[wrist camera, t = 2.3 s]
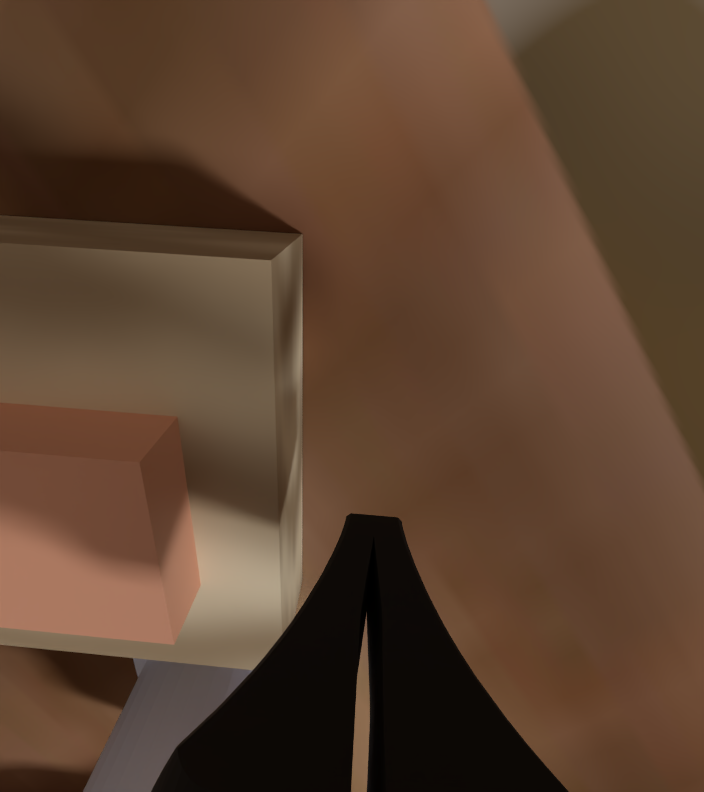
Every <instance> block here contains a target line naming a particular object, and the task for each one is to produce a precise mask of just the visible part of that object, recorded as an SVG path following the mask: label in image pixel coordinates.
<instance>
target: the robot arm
mask: <svg viewBox="0 0 704 792" xmlns="http://www.w3.org/2000/svg"><path fill="white" fill-rule="evenodd" d="M366 612H367V634H368V661H369V687H370V734H369V758H368V781H367V792H568V790H567V789H566V788H565V787H564V786H563V785H562V784H561V783H560V781H559V780H558V779H557V778H556V777H555V776H554V775H553V774H552V772H551V771H550V770H549V769H548V768H547V767H546V766H545V765H544V763H543V762H542V761H541V760H540V759H539V757H538V756H537V755H536V754H535V753H534V752H533V750H532V749H531V748H530V747H529V746H528V745H527V743H526V742H525V741H524V740H523V738H522V737H521V736H520V735H519V733H518V732H517V731H516V730H515V728H514V727H513V726H512V725H511V723H510V722H509V721H508V720H507V718H506V717H505V716H504V714H503V713H502V712H501V710H500V709H499V708H498V706H497V705H496V703H495V702H494V701H493V699H492V698H491V697H490V695H489V694H488V693H487V691H486V690H485V688H484V687H483V686H482V684H481V683H480V682H479V680H478V679H477V677H476V676H475V674H474V673H473V671H472V670H471V668H470V667H469V665H468V664H467V662H466V661H465V659H464V658H463V656H462V655H461V653H460V651H459V650H458V648H457V646H456V645H455V643H454V641H453V640H452V638H451V636H450V635H449V633H448V631H447V629H446V628H445V626H444V624H443V622H442V620H441V619H440V617H439V615H438V613H437V611H436V609H435V607H434V605H433V603H432V601H431V599H430V597H429V595H428V593H427V591H426V589H425V586H424V584H423V582H422V580H421V577H420V575H419V573H418V570H417V568H416V566H415V563H414V561H413V558H412V555H411V553H410V550H409V547H408V544H407V541H406V538H405V535H404V531H403V527H402V522H401V520H400V519H399V518H397V517H386V516H375V515H363V514H352V513H351V514H349V515H348V516H346V521H345V525H344V528H343V531H342V533H341V536H340V538H339V541H338V543H337V545H336V547H335V550H334V552H333V554H332V556H331V558H330V559H329V561H328V563H327V565H326V567H325V569H324V571H323V573H322V575H321V576H320V578H319V580H318V582H317V583H316V585H315V586H314V588H313V590H312V591H311V593H310V595H309V596H308V598H307V600H306V601H305V603H304V604H303V606H302V607H301V609H300V610H299V612H298V613H297V615H296V616H295V617H294V619H293V620H292V622H291V623H290V624H289V626H288V627H287V628H286V630H285V631H284V633H283V634H282V635H281V636H280V638H279V639H278V640H277V642H276V643H275V644H274V645H273V647H272V648H271V649H270V650H269V652H268V653H267V654H266V655H265V657H264V658H263V659H262V660H261V661H260V662H259V664H258V665H257V666H256V667H255V668H254V669H253V670H245V669H236V668H226V667H216V666H206V665H196V664H186V663H177V662H167V661H157V660H147V659H137V658H133V661H134V665H135V669H136V672H137V676H138V679H137V681H136V683H135V685H134V687H133V689H132V692H131V694H130V696H129V698H128V700H127V702H126V704H125V706H124V708H123V710H122V712H121V714H120V716H119V718H118V720H117V722H116V724H115V726H114V729H113V731H112V733H111V735H110V737H109V739H108V741H107V743H106V745H105V747H104V749H103V751H102V753H101V755H100V757H99V759H98V761H97V764H96V766H95V768H94V770H93V772H92V774H91V776H90V778H89V780H88V782H87V784H86V786H85V788H84V790H83V792H351V779H352V759H353V740H354V721H355V702H356V684H357V673H358V666H359V659H360V653H361V646H362V639H363V632H364V626H365V619H366Z"/></svg>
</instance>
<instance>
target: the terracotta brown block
mask: <svg viewBox="0 0 704 792" xmlns="http://www.w3.org/2000/svg"><path fill="white" fill-rule="evenodd" d="M200 586H201V583H200V576H199V568H198V561H197V554H196V547H195V540H194V532H193V525H192V518H191V511H190V503H189V496H188V489H187V482H186V475H185V467H184V460H183V453H182V446H181V438H180V431H179V424H178V417H176V416H163V415H151V414H138V413H125V412H113V411H100V410H88V409H75V408H63V407H50V406H37V405H25V404H12V403H0V627H1V628H11V629H21V630H31V631H41V632H51V633H61V634H71V635H81V636H91V637H101V638H111V639H121V640H131V641H141V642H151V643H161V644H171V645H174V644H175V642H176V640H177V638H178V635H179V633H180V631H181V629H182V626H183V624H184V622H185V620H186V617H187V615H188V613H189V611H190V608H191V606H192V604H193V602H194V599H195V597H196V595H197V593H198V590H199V588H200Z"/></svg>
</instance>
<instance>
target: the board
mask: <svg viewBox="0 0 704 792" xmlns="http://www.w3.org/2000/svg"><path fill="white" fill-rule="evenodd" d="M302 332H303V234H295V233H279V232H263V231H247V230H231V229H215V228H199V227H183V226H167V225H151V224H135V223H118V222H102V221H86V220H70V219H54V218H38V217H22V216H6V215H0V403H12V404H25V405H37V406H50V407H63V408H75V409H88V410H100V411H113V412H125V413H138V414H151V415H163V416H176V417H178V424H179V431H180V438H181V446H182V453H183V460H184V467H185V475H186V482H187V489H188V496H189V503H190V511H191V518H192V525H193V532H194V540H195V547H196V554H197V561H198V568H199V576H200V583H201V586H200V588H199V590H198V593H197V595H196V597H195V599H194V602H193V604H192V606H191V608H190V611H189V613H188V615H187V617H186V620H185V622H184V624H183V626H182V629H181V631H180V633H179V635H178V638H177V640H176V642H175V644H174V645H171V644H161V643H151V642H141V641H131V640H121V639H111V638H101V637H91V636H81V635H71V634H61V633H51V632H41V631H31V630H21V629H11V628H1V627H0V645H9V646H19V647H29V648H39V649H49V650H59V651H68V652H78V653H88V654H98V655H108V656H118V657H127V658H137V659H147V660H157V661H167V662H177V663H186V664H196V665H206V666H216V667H226V668H236V669H245V670H253V669H254V668H255V667H256V666H257V665H258V664H259V662H260V661H261V660H262V659H263V658H264V657H265V655H266V654H267V653H268V652H269V650H270V649H271V648H272V647H273V645H274V644H275V643H276V642H277V640H278V639H279V638H280V636H281V635H282V634H283V633H284V631H285V630H286V628H287V627H288V626H289V624H290V623H291V622H292V620H293V619H294V617H295V613H296V608H297V603H298V599H299V594H300V589H301V584H302Z"/></svg>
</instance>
